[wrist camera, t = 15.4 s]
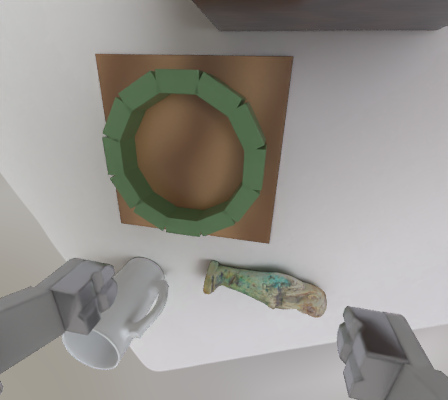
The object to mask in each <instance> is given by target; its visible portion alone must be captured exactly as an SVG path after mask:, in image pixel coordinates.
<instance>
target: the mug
mask: <svg viewBox="0 0 448 400" xmlns="http://www.w3.org/2000/svg"><path fill="white" fill-rule="evenodd" d="M113 279H114V280H115V281H116V282H117V286H118V291H117V296H116V298H115V301H114V303H113V304H112V305H111V307H110V308H109V309H108V310H106V311H104V312H102V313H101V319H100V321H99V322H98V323H97V324H96V326H95V327H94V328H93V329H92V331H91V332H90V333H89V334H88V335H83V334H78V333H73V332H68V331H65V333H64V334H62V341H63V344H64V346H65V348H66V349H67V351H68V352H69V353H70V354H71V355H72V356H73V357H74V358H75V359H77V360H78V361H80V362H81V363H83V364H85V365H87V366H89V367H92V368H95V369H100V370H108V369H113V368H115V367H116V366H117V365H118V364H119V362H120V360H121V358H122V357H123V355H124V353H125V351H126V350H127V348H128V346H129V345H130V343H131V341H132V339H133V338H141V336H142V334H143V333H144V332H145V331H146V330H147V329H148V328H149V327H150V325H151V324H152V323H153V322H154V321H155V320H156V319H157V317H158V316H159V315H160V313H161V312H162V310H163V308H164V306H165V304H166V301H167V296H168V287H169V286H168V284H167V282H166V281H165V280H164V274H163V272H162V270H161V269H160V267H159V266H158V265H157V264H156V263H154V262H153V261H151V260H149V259H146V258H140V257H139V258H134V259H131V260H130V261H129V262H128V263H127V264H126V265H125V266H124V267H123V268H122V269H121V270H120V271H119V272H118V273H117V274H116V275H115V276H114V277H113ZM158 293H159V296H158V300H157V302H156V305H155V306H154V308H153V309H152V310H151V312H150V313H149V314H148V315H146V314H147V313H148V311H149V309H150V307H151V306H152V304H153V302H154V300H155V299H156V297H157V295H158Z"/></svg>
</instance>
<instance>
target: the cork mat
mask: <svg viewBox="0 0 448 400" xmlns="http://www.w3.org/2000/svg"><path fill="white" fill-rule="evenodd" d="M95 56H96V62H97V69H98V75H99V82H100V88H101V95H102V101H103V108H104V114H105V121H106V122H107V119H108V116H109V114H110V111H111V108H112V105H113V102H114V100H115V97H120V96H119V94H118V93H119V92H121V91H122V90H124V89H125V88H126V87H128V86H129V85H131V84H132V83H133V82H135V81H136V80H138V79H139V78H140V77H142V76H143V75H145V74H146V73H147V72H149V71H155V69H187V70H200V71H204V72H207V73H209V74H212V75H214V76H215V77H217V78H218V79H220V80H221V81H222V82H224V83H225V84H227V85H228V86H230V87H231V88H232V89H234V90H235V91H237V92H238V93H240V94H241V95H242V96H244V97H245V98H246V100H245V101H244V103H248V102H249V103H250V105H251V107H252V109H253V111H254V113H255V116H256V118H257V120H258V122H259V125H260V127H261V129H262V131H263V133H264V136H265V138H266V142H265V144H267V149H266V159H265V168H264V178H263V185H262V190H260V195H259V196H258V198H257V199H256V200H255V201H254V203H253V204H252V205H251V207H250V208H249V209H248V210H247V212H246V213H245V214H244V215H243V217H242V218H241V219H240V221H239V222H235V225H233V226H230V227H227V228H225V229H222V230H219V231H217V232H214V233H211V234H208V235H211V236H218V237H225V238H233V239H240V240H247V241H254V242H261V243H269V240H270V232H271V225H272V217H273V209H274V202H275V194H276V186H277V179H278V171H279V163H280V156H281V148H282V140H283V133H284V125H285V117H286V109H287V102H288V94H289V86H290V79H291V71H292V63H293V56H216V55H135V54H95ZM244 103H243V104H244ZM135 145H136V154H137V163H138V167H139V169H140V171H141V172H142V174H143V175H144V177H145V179H146V180H147V182H148V183H149V185H150V187H151V188H152V190H153V191H154V192H155V193H157V194H158V195H160V196H161V197H163V198H164V199H166V200H167V201H169V202H170V203H172V204H174V205H175V206H177V207H182V208H190V209H198V210H206V209H208V208H211V207H213V206H216V205H218V204H220V203H223V202H225V201H228V200H229V199H230V198H231V196H232V195H233V193H234V192H235V191H236V189H237V188H238V186H239V185H240V184H241V182H242V179H243V164H244V149H243V147H242V145H241V143H240V141H239V139H238V137H237V135H236V133H235V131H234V129H233V126H232V124H231V122H230V120H229V118H228V117H227V116H226V115H224V114H223V113H222V112H220V111H219V110H217V109H216V108H214V107H213V106H211V105H210V104H209V103H207V102H206V101H204V100H203V99H201V98H200V97H198V96H197V95H191V94H170V95H168V96H167V97H165V98H164V99H162V100H161V101H159V102H158V103H156V104H155V105H153V106H151V107H150V108H148V109H147V110H146V112H145V114H144V116H143V119H142V121H141V123H140V126H139V128H138V130H137V133H136V135H135ZM114 176H115V175H114ZM116 192H117V198H118V205H119V211H120V218H121V223H124V224H132V225H139V226H146V227H153V228H157V227H156V226H154V225H153V224H151V223H150V222H148V221H147V220H145V219H144V218H142V217H140V216H139V215H137V214H136V213H134V212H133V211H134V209H135V207H133V208H131V209H130V208H129V206H128V205H127V203H126V202H125V200H124V199H123V197H122V196H121V194H120V193H119V191H118V190H117V188H116ZM165 229H166V227H165ZM201 234H202V233H201Z"/></svg>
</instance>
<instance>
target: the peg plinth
mask: <svg viewBox="0 0 448 400" xmlns="http://www.w3.org/2000/svg"><path fill="white" fill-rule="evenodd" d="M192 1H193V2H194V3H195V4H196V5H197V7H198V8H199V9H200V10H201V11H202V12H203V13H204V14H205V15H206V17H207V18H208V19H209V20H210V21H211V22H212V23H213V24H214V26H215V27H216V28H217V29H218V30H219V31H314V30H437V29H440V28H442V27H445V26H447V25H448V0H192Z"/></svg>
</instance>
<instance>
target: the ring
mask: <svg viewBox="0 0 448 400" xmlns="http://www.w3.org/2000/svg"><path fill="white" fill-rule="evenodd" d="M118 94H119V96H120V97H115V100H114V102H113V105H112V108H111V111H110V114H109V116H108V119H107V122H106V125H105V128H104V130H103V134H105V135H106V137H102V139H103V145H104V151H105V157H106V163H107V169H108V174H109V175H115V176H113V177H111V178H110V180H111V181H112V183H113V184H114V185H115V187H116V188H117V190H118V191H119V193H120V194H121V196H122V197H123V199H124V200H125V202H126V203H127V205H128V206H129V208H130V209H131V208H133V207H135V209H134V211H133V212H134V213H136V214H137V215H139V216H140V217H142V218H144V219H145V220H147V221H148V222H150V223H151V224H153V225H154V226H156V227H157V228H159V229H161V230H162V231H163V230H164V229H165V227H166V232H168V233H176V234H183V235H190V236H197V237H200V235H201V233H202V235H203V236H206V235H208V234H211V233H214V232H217V231H219V230H222V229H225V228H227V227H230V226H233V225H235V222H239V221H240V219H241V218H242V217H243V215H244V214H245V213H246V212H247V210H248V209H249V208H250V207H251V205H252V204H253V203H254V201H255V200H256V199H257V198H258V196H259V195H260V190H262V185H263V178H264V168H265V159H266V149H267V144H265V142H266V138H265V136H264V133H263V131H262V129H261V127H260V125H259V122H258V120H257V118H256V116H255V113H254V111H253V109H252V107H251V105H250V103H249V102H248V103H244V101H245V100H246V98H245V97H244V96H242V95H241V94H240V93H238V92H237V91H235V90H234V89H232V88H231V87H230V86H228V85H227V84H225V83H224V82H222V81H221V80H220V79H218V78H217V77H215V76H214V75H212V74H209V73H207V72H204V71H200V70H187V69H155V71H149V72H147V73H146V74H145V75H143V76H142V77H140V78H139V79H138V80H136V81H135V82H133V83H132V84H131V85H129V86H128V87H126V88H125V89H124V90H122V91H121V92H119V93H118ZM170 94H191V95H197V96H198V97H200V98H201V99H203V100H204V101H206V102H207V103H209V104H210V105H211V106H213V107H214V108H216V109H217V110H219V111H220V112H222V113H223V114H224V115H226V116H227V117H228V118H229V120H230V122H231V124H232V126H233V129H234V131H235V133H236V135H237V137H238V139H239V141H240V143H241V145H242V147H243V149H244V164H243V179H242V182H241V184H240V185H239V186H238V188H237V189H236V191H235V192H234V193H233V195H232V196H231V198H230V199H229V200H228V201H225V202H223V203H220V204H218V205H216V206H213V207H211V208H208V209H206V210H198V209H190V208H182V207H177V206H175V205H174V204H172V203H170V202H169V201H167V200H166V199H164V198H163V197H161V196H160V195H158V194H157V193H155V192H154V191H153V190H152V188H151V187H150V185H149V183H148V182H147V180H146V179H145V177H144V175H143V174H142V172H141V171H140V169H139V167H138V163H137V154H136V145H135V135H136V133H137V130H138V128H139V126H140V123H141V121H142V119H143V116H144V114H145V112H146V110H147V109H148V108H150V107H151V106H153V105H155V104H156V103H158V102H159V101H161V100H162V99H164V98H165V97H167V96H168V95H170ZM243 103H244V104H243Z"/></svg>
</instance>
